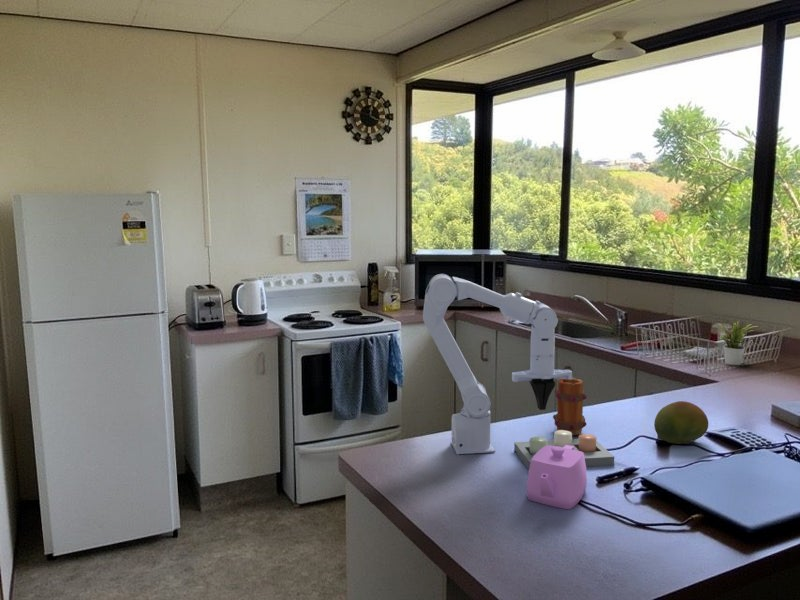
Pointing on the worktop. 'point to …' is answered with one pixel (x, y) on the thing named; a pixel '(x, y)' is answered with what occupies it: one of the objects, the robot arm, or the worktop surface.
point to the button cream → (562, 438)
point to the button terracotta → (587, 443)
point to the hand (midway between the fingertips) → (541, 408)
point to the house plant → (735, 344)
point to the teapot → (557, 476)
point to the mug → (570, 406)
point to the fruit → (681, 422)
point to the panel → (591, 458)
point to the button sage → (537, 444)
